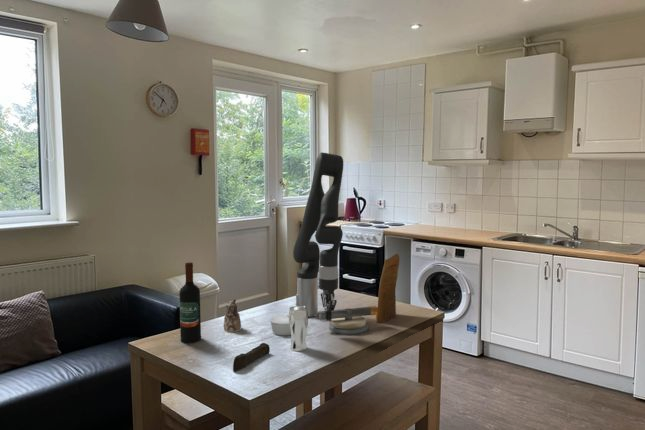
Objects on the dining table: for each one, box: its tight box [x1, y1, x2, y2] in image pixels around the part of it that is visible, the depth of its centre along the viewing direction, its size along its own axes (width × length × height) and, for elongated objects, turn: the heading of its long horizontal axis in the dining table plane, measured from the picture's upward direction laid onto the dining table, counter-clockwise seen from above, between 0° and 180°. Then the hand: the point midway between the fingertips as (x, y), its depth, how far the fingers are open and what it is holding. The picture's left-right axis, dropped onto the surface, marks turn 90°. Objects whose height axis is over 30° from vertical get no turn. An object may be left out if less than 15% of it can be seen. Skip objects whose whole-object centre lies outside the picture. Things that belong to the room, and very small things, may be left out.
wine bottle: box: [179, 261, 202, 344], centre depth 185 cm, size 8×8×30 cm
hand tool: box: [232, 342, 271, 372], centre depth 165 cm, size 19×4×5 cm, turn 151°
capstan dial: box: [318, 305, 378, 330], centre depth 199 cm, size 14×25×6 cm, turn 108°
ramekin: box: [269, 314, 291, 336], centre depth 195 cm, size 11×11×5 cm
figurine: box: [223, 299, 242, 333], centre depth 198 cm, size 7×7×12 cm
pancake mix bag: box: [375, 253, 400, 323], centre depth 212 cm, size 7×19×28 cm, turn 146°
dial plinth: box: [328, 321, 369, 336], centre depth 200 cm, size 16×16×2 cm
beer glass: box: [288, 305, 309, 352], centre depth 176 cm, size 7×7×15 cm
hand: (328, 319), depth 191 cm, fingers closed
